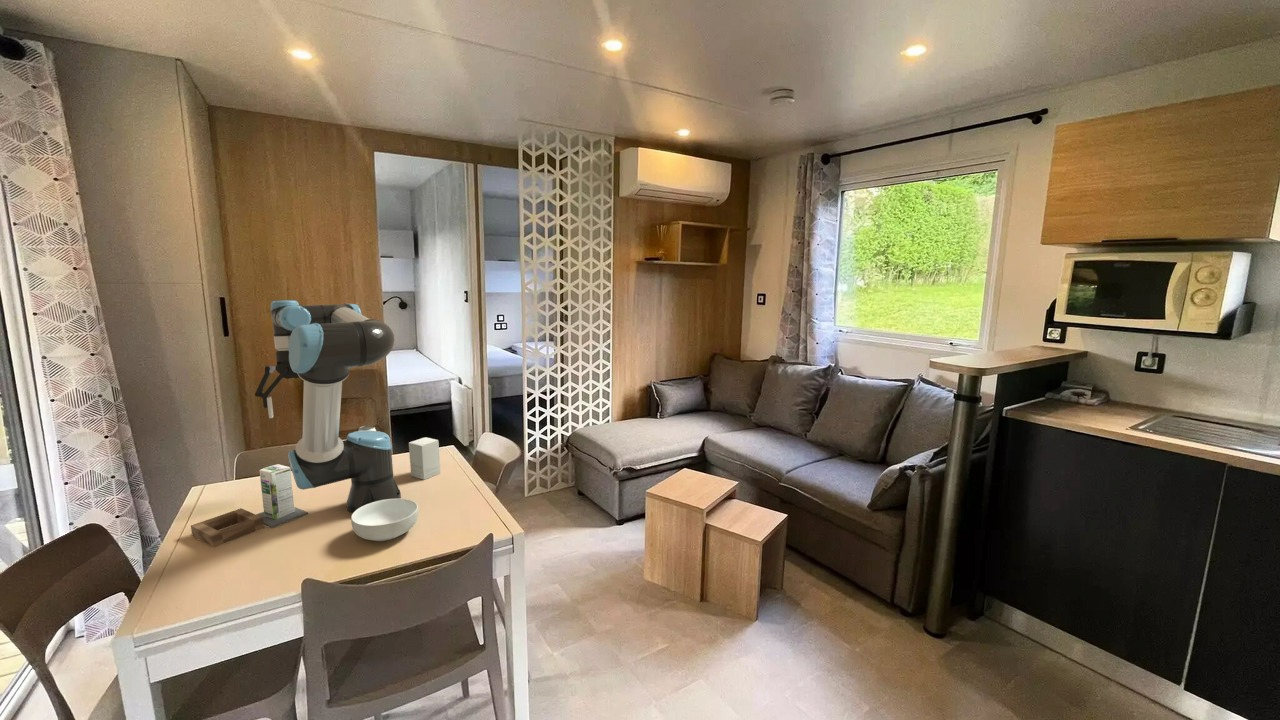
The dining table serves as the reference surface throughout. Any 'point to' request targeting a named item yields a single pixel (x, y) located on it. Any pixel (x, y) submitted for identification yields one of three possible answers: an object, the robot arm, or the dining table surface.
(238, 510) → the pocket
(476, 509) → the dining table surface
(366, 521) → the cereal bowl
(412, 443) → the supplement box
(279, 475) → the syrup box
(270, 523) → the mat
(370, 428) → the can
